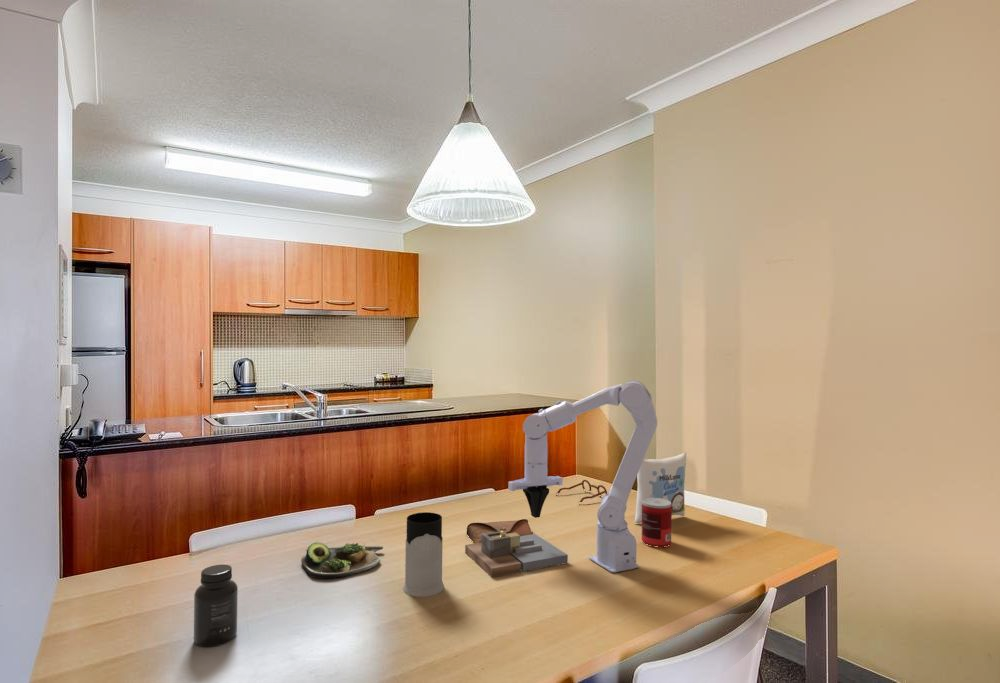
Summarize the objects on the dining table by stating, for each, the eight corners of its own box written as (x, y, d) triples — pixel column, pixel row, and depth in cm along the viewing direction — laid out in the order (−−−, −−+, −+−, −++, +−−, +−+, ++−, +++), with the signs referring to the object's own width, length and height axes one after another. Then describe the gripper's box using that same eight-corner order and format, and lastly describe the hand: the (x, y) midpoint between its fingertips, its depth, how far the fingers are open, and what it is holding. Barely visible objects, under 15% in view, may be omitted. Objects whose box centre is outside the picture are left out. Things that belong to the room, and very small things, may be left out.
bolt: (519, 550, 135) (519, 530, 135) (493, 554, 132) (493, 534, 132) (515, 546, 137) (515, 527, 137) (489, 551, 134) (489, 531, 134)
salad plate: (371, 544, 145) (371, 526, 145) (398, 567, 130) (398, 547, 130) (294, 559, 134) (295, 540, 134) (314, 586, 119) (314, 564, 119)
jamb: (521, 571, 127) (521, 544, 127) (491, 577, 124) (492, 549, 124) (492, 548, 142) (492, 524, 142) (465, 552, 138) (465, 528, 138)
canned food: (668, 538, 150) (668, 498, 150) (674, 549, 142) (674, 506, 142) (639, 537, 151) (639, 496, 151) (644, 547, 143) (644, 505, 143)
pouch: (626, 520, 166) (626, 453, 166) (677, 513, 173) (678, 449, 173) (642, 528, 158) (642, 458, 158) (695, 521, 165) (696, 454, 165)
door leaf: (567, 563, 132) (567, 550, 133) (523, 571, 127) (523, 558, 127) (535, 541, 147) (535, 530, 147) (494, 548, 142) (494, 536, 142)
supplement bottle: (243, 627, 101) (244, 561, 101) (226, 648, 94) (227, 577, 94) (205, 627, 101) (206, 561, 101) (185, 648, 94) (186, 577, 94)
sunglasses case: (473, 545, 143) (470, 519, 147) (467, 551, 149) (465, 525, 152) (538, 539, 149) (534, 514, 152) (530, 544, 154) (526, 520, 158)
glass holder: (405, 599, 113) (405, 525, 113) (398, 571, 127) (399, 505, 127) (447, 594, 115) (448, 522, 115) (436, 567, 129) (437, 503, 129)
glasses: (608, 501, 187) (608, 486, 187) (577, 506, 181) (578, 491, 181) (583, 492, 199) (583, 478, 199) (554, 496, 192) (554, 482, 192)
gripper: (552, 456, 145) (552, 508, 145) (502, 461, 139) (502, 515, 139) (567, 461, 139) (566, 516, 139) (515, 467, 132) (515, 523, 132)
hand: (535, 516), depth 138 cm, fingers closed
